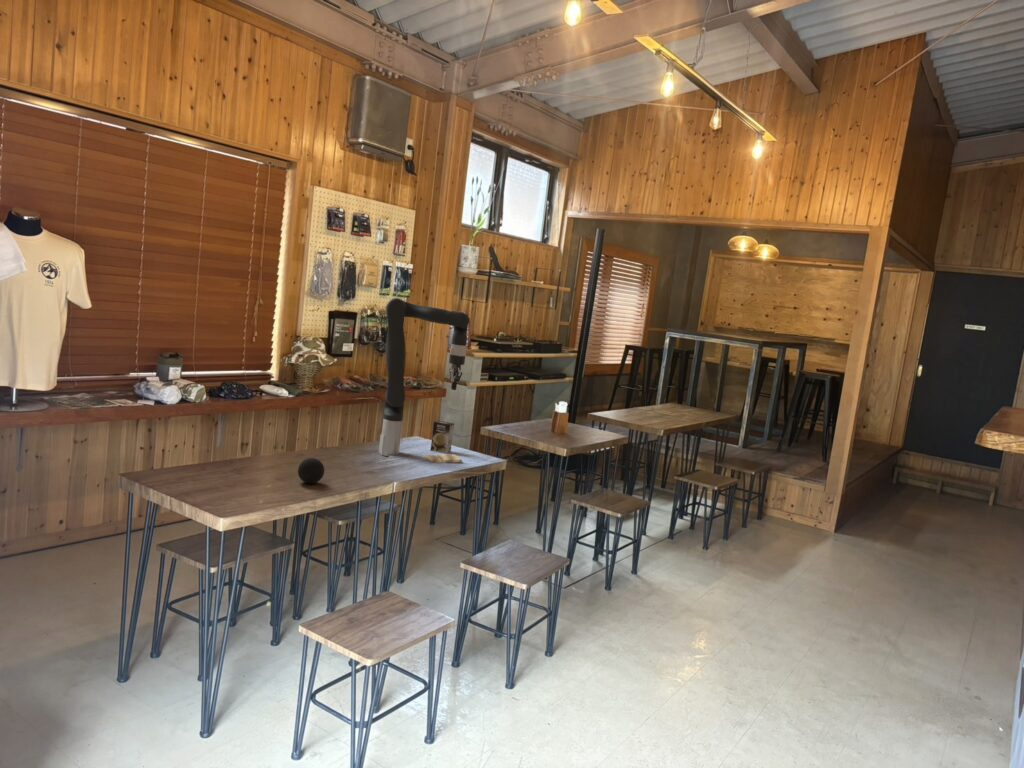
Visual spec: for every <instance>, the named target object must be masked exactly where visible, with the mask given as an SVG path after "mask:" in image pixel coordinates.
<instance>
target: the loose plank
mask: <svg viewBox="0 0 1024 768" xmlns="http://www.w3.org/2000/svg"><path fill="white" fill-rule="evenodd" d="M436 456H437V457H438V458H439V459H440V460H442V462H443V463H444V464H446V463H448V464H449V463H463V459H462V458H460V457H459V456H457V455H456V454H455V453H454V454H453V453H452V454H436Z"/></svg>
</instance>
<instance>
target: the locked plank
mask: <svg viewBox="0 0 1024 768" xmlns="http://www.w3.org/2000/svg"><path fill="white" fill-rule="evenodd" d="M424 458H425V459H426V460H428V461H429V462H430V463H432V464H433V463H437V464H439V463H440V464H443V463H444V462H442V460H440V459H439V458H438V457H437V455H434V454H433V455H431V454H424Z"/></svg>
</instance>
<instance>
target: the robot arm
mask: <svg viewBox="0 0 1024 768" xmlns="http://www.w3.org/2000/svg"><path fill="white" fill-rule="evenodd" d="M385 310H386V316H387V317H386V318H387V319H386V321H387V333H386V334H387V336H386V342H385V343H386V344H385V362H386V370H387V371H386V372H387V388H386V392H385V398H384V405H383V406H384V407H383V416H382V417H383V419H382V428H381V429H382V430H381V433H380V436H379V444H378V445H379V447H378V454H380V455H381V456H386V457H389V455H391V456H392V455H399V454H400V449H401V438H402V429H403V421H404V409H405V401H406V391H405V381H404V380H405V379H404V378H405V368H406V358H407V357H406V355H407V352H406V351H407V349H406V348H407V347H406V336H405V331H404V329H405V328H404V326H405V318H414V319H419V320H422V321H426V322H430V323H436V324H440V325H449V326H452V327H453V332H452V338H451V346H450V352H449V359H448V363H449V364H451V367H450V368H449V369H448V371H449V372H448V373H449V379H450V381H451V387H450V389H451V390H452V391H456V390H457V386H458V383H459V382H460V380H461V379H462V375H463V372H462V368H461V367H462V366H464V365H465V362H466V354H467V353H466V352H467V341H468V336H467V335H468V326H469V323H470V317H469V316H468V314H466V313H465V312H457V311H451V310H447V309H444V308H437V307H433V306H423V305H417V304H413V303H410V302H407V301H405V300H402V299H401V298H397V297H396V298H391V299H390V300H389V301H388V302H387V303H386V306H385Z"/></svg>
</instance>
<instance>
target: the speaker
mask: <svg viewBox="0 0 1024 768" xmlns="http://www.w3.org/2000/svg"><path fill="white" fill-rule="evenodd" d="M297 468H298V469H297V475H298V478H299V479H300V480H301V481H302V482H303V483H306V484H311V485H312V484H316V483H318V482H319V481H321V480H322V478H323V477H324V474H325V467H324V464H323V462H321V460H319V459H317V458H314V457H309V458H305V459H304V460H302V461H301V463H299V465H298V467H297Z"/></svg>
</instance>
